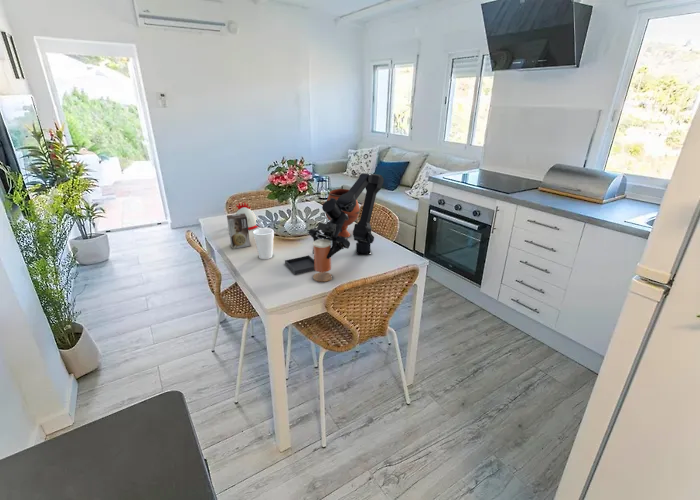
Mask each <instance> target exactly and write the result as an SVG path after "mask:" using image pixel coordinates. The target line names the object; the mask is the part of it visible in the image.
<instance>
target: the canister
mask: <svg viewBox="0 0 700 500" xmlns="http://www.w3.org/2000/svg"><path fill="white" fill-rule="evenodd" d="M312 245H313V246H312V250H313V249H314V254H313V259H314V269H315V270H314V271H316V273H320V272H326V273H328V272H330V271H331V270H332V257H330V258H329V259H327V255H328V253H329V251H330V249H331V247H332V241H330V240H327V239H318V240H315V241H314V240H313V242H312Z"/></svg>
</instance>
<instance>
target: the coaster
mask: <svg viewBox="0 0 700 500" xmlns="http://www.w3.org/2000/svg"><path fill="white" fill-rule="evenodd" d="M312 276H313V277H312V278H313V280H314V281H315V282H317V283H327V282H330V281H332V279H333V276H332V274H331V273H330V272H316V273H314V275H312Z"/></svg>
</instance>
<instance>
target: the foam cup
mask: <svg viewBox="0 0 700 500" xmlns="http://www.w3.org/2000/svg"><path fill="white" fill-rule="evenodd" d="M252 234H253V238H254V242H255V246H256V250H257V254H258V258H259V259H260V260H269V259H271V258H273V253H274V238H275V237H274V236H275V231H274V229H272V228H271V227H260V228H255V229H253V231H252Z"/></svg>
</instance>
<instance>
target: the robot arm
mask: <svg viewBox="0 0 700 500" xmlns="http://www.w3.org/2000/svg"><path fill="white" fill-rule="evenodd" d="M384 182H385V180H384V177H383V176H382V175H381V174H376V173H371V172H370V173H366V172H362V173H360V174H359V176H358V178H357V179H356V181H355V182H354V183H353V185H352V186H351V187H350V189H348V190H349V191H348V192H347V193H345V194H343V195H341V196H340V197H339V198H338V199H337V200H335V199H334V198H331V199H330V200H328V201H327V200H326V201H325V202H323V204H322V205H321V206H322V207H321V209H322V211H323V212H324V214H325V213H326V214H327V215H328V216H329V217H330V218H331V220H329V221H327V222H326V223H324V222H319V221H318V224H317V228H316V229H315V228H310V229H309V230H308V232H307V234H308V235H309V236H310V238H312V240H313V242H314V241H315V240H318V239H327V240H330V241H331V249H330V251H329V253H328V255H327V259H329V258H330V257H331V258H332V257H333V256H334V255H335V254H336V253H339V252H340V251H341V250H344V249H347V250H349V248H350V246H351V241H349V240H348V238H346V237H342V236H338V234H339V232H342V229H341V228H342V226H343V224H344V222H345V220H348V214H345V213H344V212H343V211H346V212H352V211H353V209H354V207H355V206H356V200H357V201H358V198H359V197H360V195H361V194H362V193H363V191H364V190H365V197H364V201H363V204H362V210H361V214H360V218H359V221H358V222H357V223H355V224H354V226H353V230H352V237H353V240H354V241H356V243H355V252H356V253H357V255H358V256H365V255H366V256H371V255H372V254H371V253H372V252H371V244H374V241H375V236H374V235H373V233H372V226H371V220H372V219H371V218H372V215H373V210H374V206H375V201H376V198H377V194H378V193H379V192H380V190H381V189H382V187H383V184H384ZM326 214H325V215H326ZM312 254H313V255H314V249H313V248H312Z"/></svg>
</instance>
